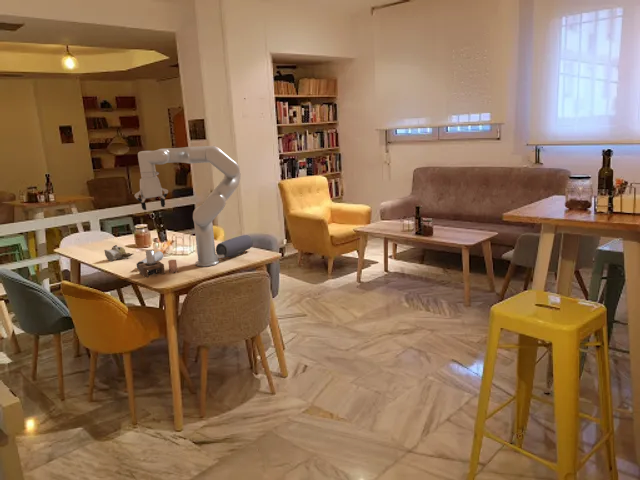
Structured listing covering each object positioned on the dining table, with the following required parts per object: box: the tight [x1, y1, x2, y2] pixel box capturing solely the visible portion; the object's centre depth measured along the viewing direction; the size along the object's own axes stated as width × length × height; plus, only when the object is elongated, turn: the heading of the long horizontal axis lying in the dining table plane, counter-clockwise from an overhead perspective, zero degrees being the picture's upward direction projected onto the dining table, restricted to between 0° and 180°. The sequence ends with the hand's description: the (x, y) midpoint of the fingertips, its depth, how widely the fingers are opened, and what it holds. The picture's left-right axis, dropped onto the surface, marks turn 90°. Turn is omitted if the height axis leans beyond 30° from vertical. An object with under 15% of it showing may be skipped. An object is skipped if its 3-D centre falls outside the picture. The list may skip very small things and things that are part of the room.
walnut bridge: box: [138, 260, 166, 278], centre depth 262 cm, size 10×10×5 cm
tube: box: [135, 250, 164, 271], centre depth 281 cm, size 5×5×25 cm
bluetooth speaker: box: [215, 234, 254, 259], centre depth 289 cm, size 23×9×10 cm, turn 149°
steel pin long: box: [145, 249, 157, 275], centre depth 261 cm, size 4×4×12 cm
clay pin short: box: [167, 259, 178, 274], centre depth 263 cm, size 4×4×6 cm
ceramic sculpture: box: [103, 244, 134, 262], centre depth 295 cm, size 11×9×15 cm
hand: (154, 208), depth 263 cm, fingers open, 9 cm apart
